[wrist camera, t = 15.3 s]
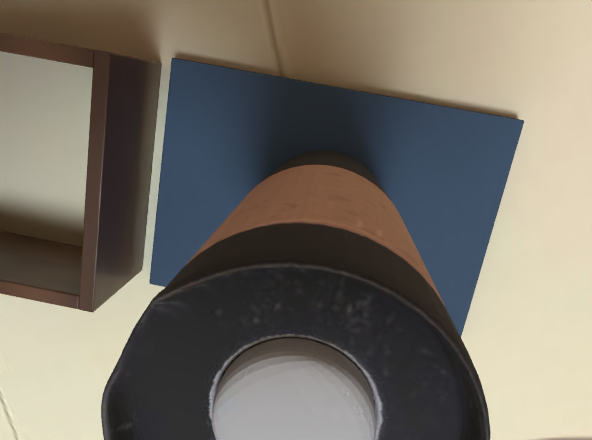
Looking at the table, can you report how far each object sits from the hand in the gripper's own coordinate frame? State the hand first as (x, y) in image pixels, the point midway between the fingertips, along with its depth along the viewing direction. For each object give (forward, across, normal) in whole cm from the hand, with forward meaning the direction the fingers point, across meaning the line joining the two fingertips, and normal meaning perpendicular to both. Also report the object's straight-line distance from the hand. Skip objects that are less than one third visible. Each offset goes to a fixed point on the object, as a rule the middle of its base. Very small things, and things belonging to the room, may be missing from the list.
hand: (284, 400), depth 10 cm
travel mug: (+19, 0, 0) cm, 19 cm away
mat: (+20, 0, 0) cm, 20 cm away
